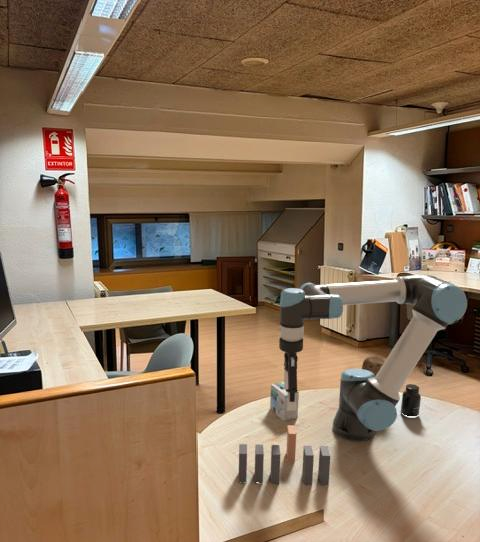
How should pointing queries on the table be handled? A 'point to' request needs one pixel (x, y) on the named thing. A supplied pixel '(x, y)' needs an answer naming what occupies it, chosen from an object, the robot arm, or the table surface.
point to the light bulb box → (282, 402)
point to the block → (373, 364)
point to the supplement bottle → (411, 400)
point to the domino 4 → (291, 443)
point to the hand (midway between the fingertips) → (289, 399)
